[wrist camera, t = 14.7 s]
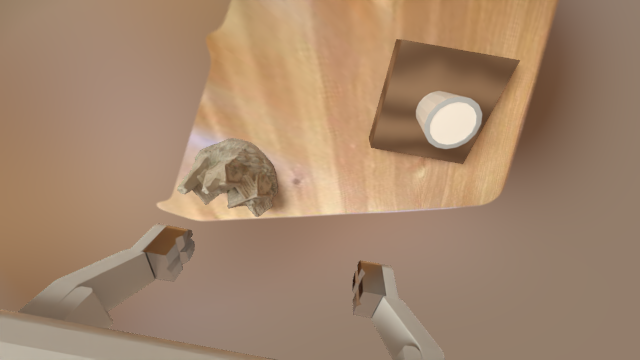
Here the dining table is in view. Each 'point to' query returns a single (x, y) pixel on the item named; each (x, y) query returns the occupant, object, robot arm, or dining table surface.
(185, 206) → the dining table surface
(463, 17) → the dining table surface
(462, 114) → the white cup
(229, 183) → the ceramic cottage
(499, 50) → the dining table surface
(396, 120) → the walnut block
